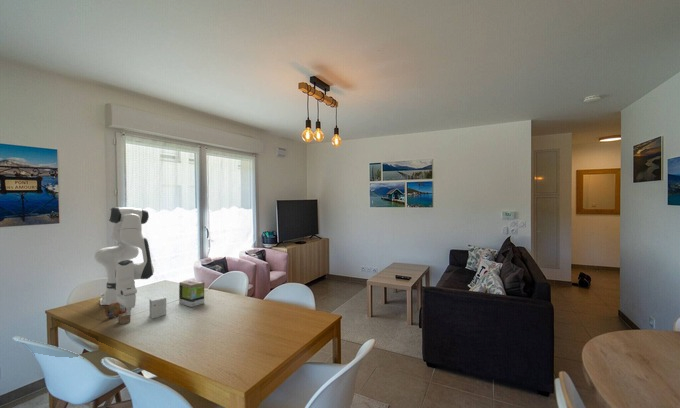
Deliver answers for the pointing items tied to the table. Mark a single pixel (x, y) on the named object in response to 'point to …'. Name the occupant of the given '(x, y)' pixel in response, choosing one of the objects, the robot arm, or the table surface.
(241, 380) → the table surface
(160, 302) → the small box
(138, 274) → the robot arm
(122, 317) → the walnut cube
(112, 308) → the tin
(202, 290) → the tea box
